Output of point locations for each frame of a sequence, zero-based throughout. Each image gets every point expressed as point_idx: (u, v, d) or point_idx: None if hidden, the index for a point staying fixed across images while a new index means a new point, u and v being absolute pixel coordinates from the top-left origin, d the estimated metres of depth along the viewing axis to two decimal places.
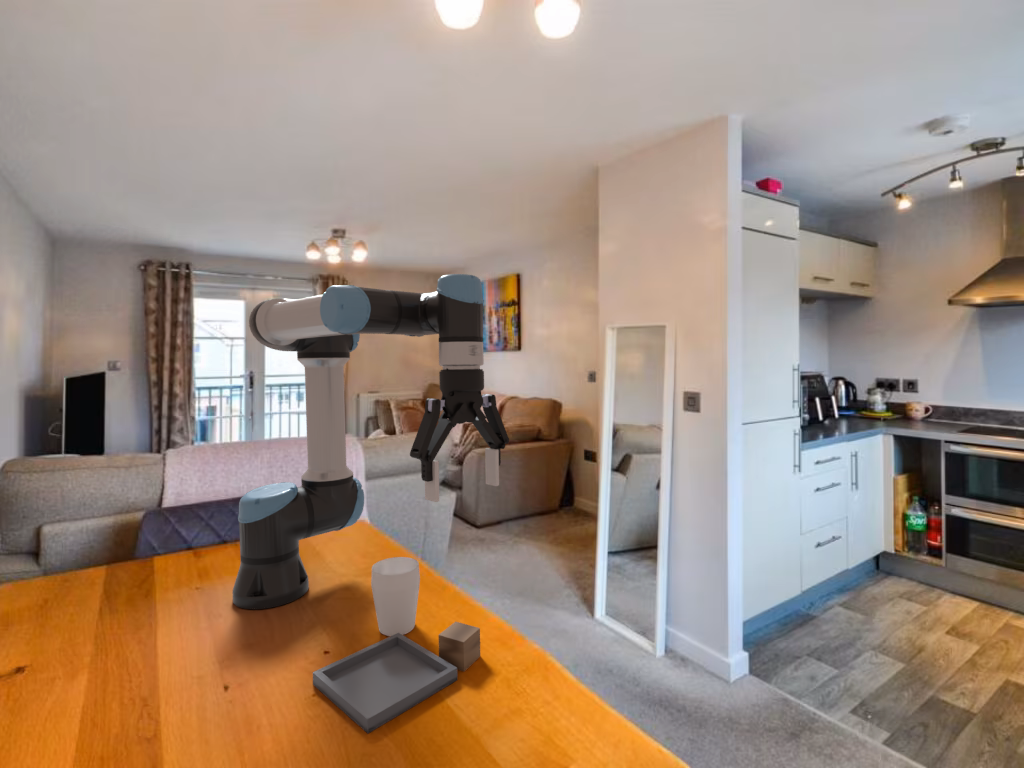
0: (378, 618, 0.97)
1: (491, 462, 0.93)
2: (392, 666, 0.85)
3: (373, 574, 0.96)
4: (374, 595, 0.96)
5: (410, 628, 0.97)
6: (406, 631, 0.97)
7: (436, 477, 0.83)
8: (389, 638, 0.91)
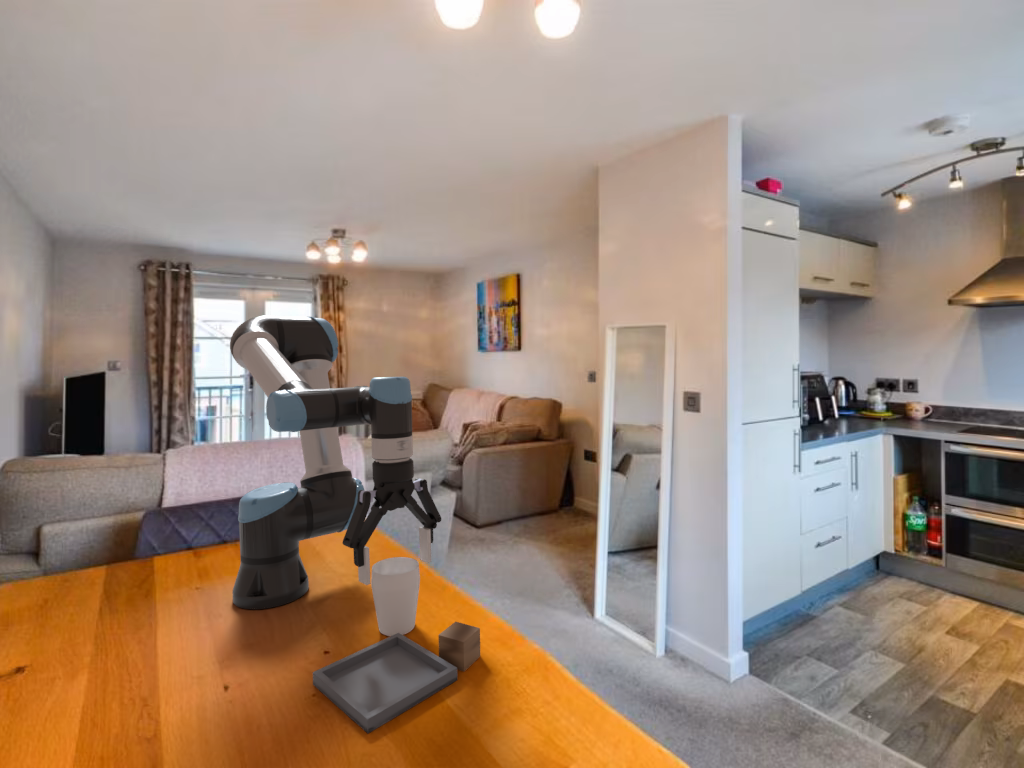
0: (378, 618, 0.97)
1: (424, 540, 1.03)
2: (392, 666, 0.85)
3: (373, 574, 0.96)
4: (374, 595, 0.96)
5: (410, 628, 0.97)
6: (406, 631, 0.97)
7: (367, 562, 0.92)
8: (389, 638, 0.91)
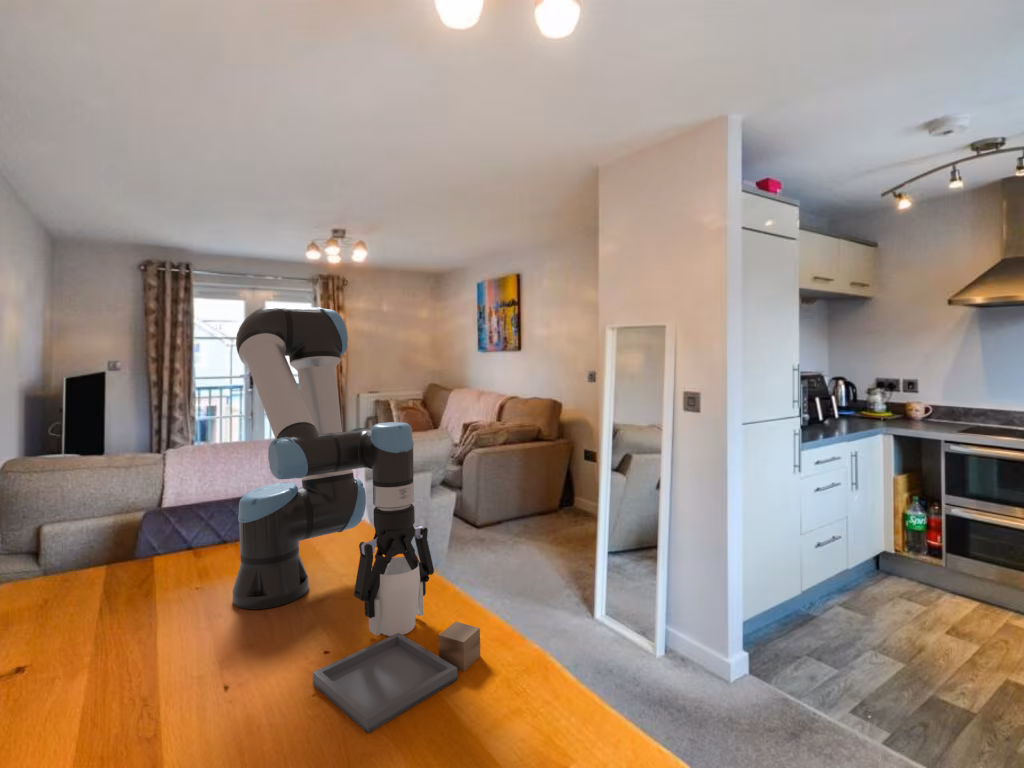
0: None
1: None
2: (392, 666, 0.85)
3: None
4: None
5: (410, 628, 0.97)
6: (406, 631, 0.97)
7: (377, 614, 0.94)
8: (389, 638, 0.91)
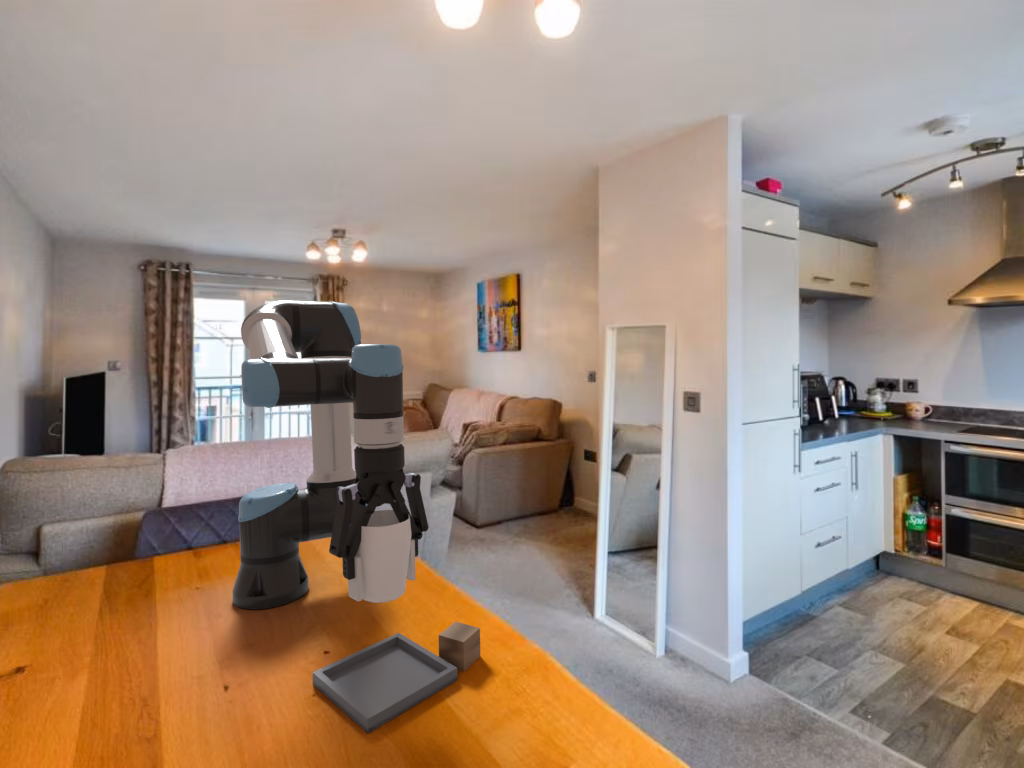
0: None
1: None
2: (392, 666, 0.85)
3: None
4: None
5: (399, 593, 0.80)
6: (394, 597, 0.79)
7: (358, 574, 0.77)
8: (389, 638, 0.91)
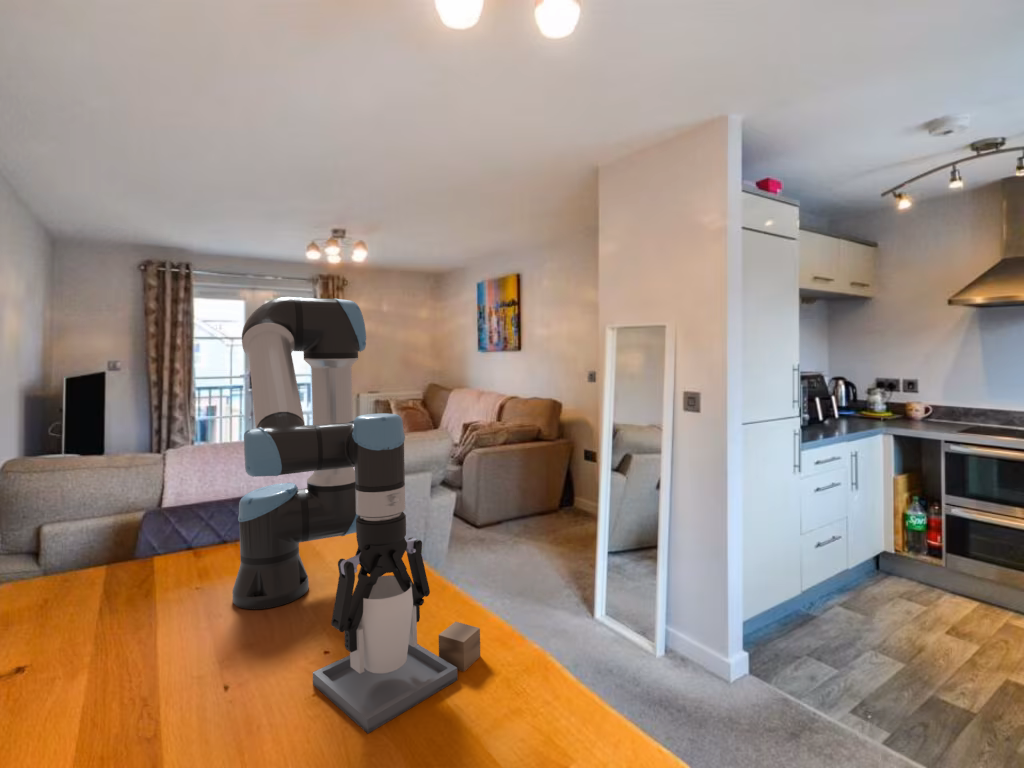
0: None
1: None
2: None
3: None
4: None
5: (401, 663, 0.80)
6: (396, 667, 0.79)
7: (360, 647, 0.77)
8: None
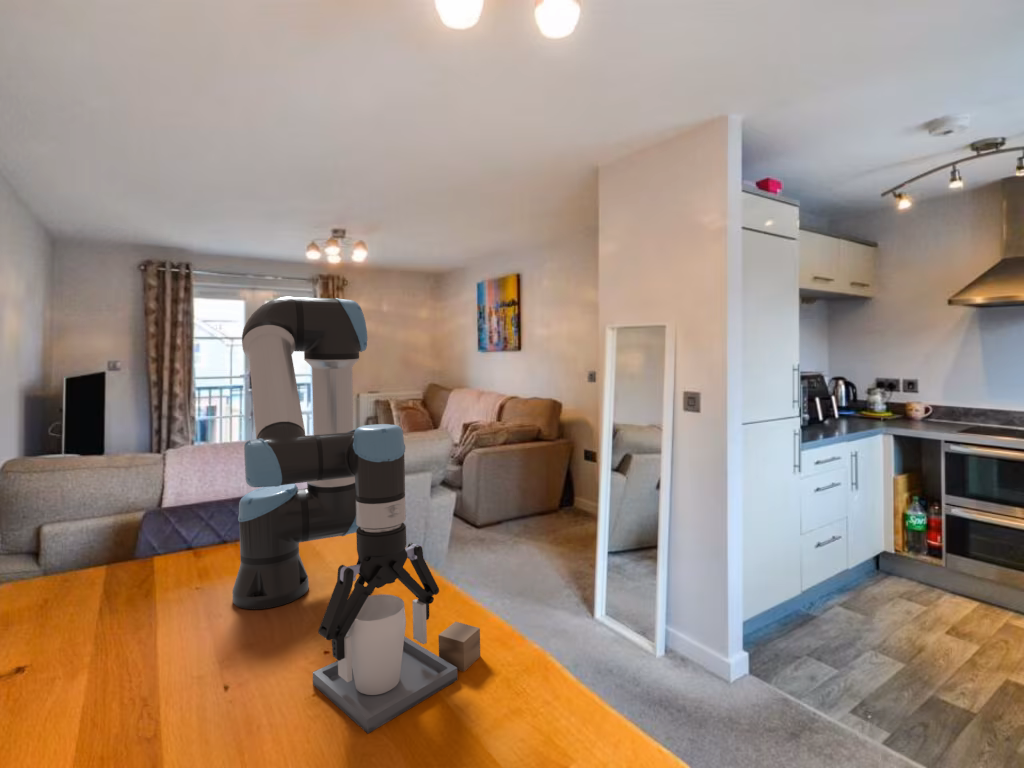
0: (354, 672, 0.79)
1: (418, 617, 0.86)
2: None
3: None
4: None
5: (393, 684, 0.79)
6: (388, 688, 0.79)
7: (348, 655, 0.76)
8: None
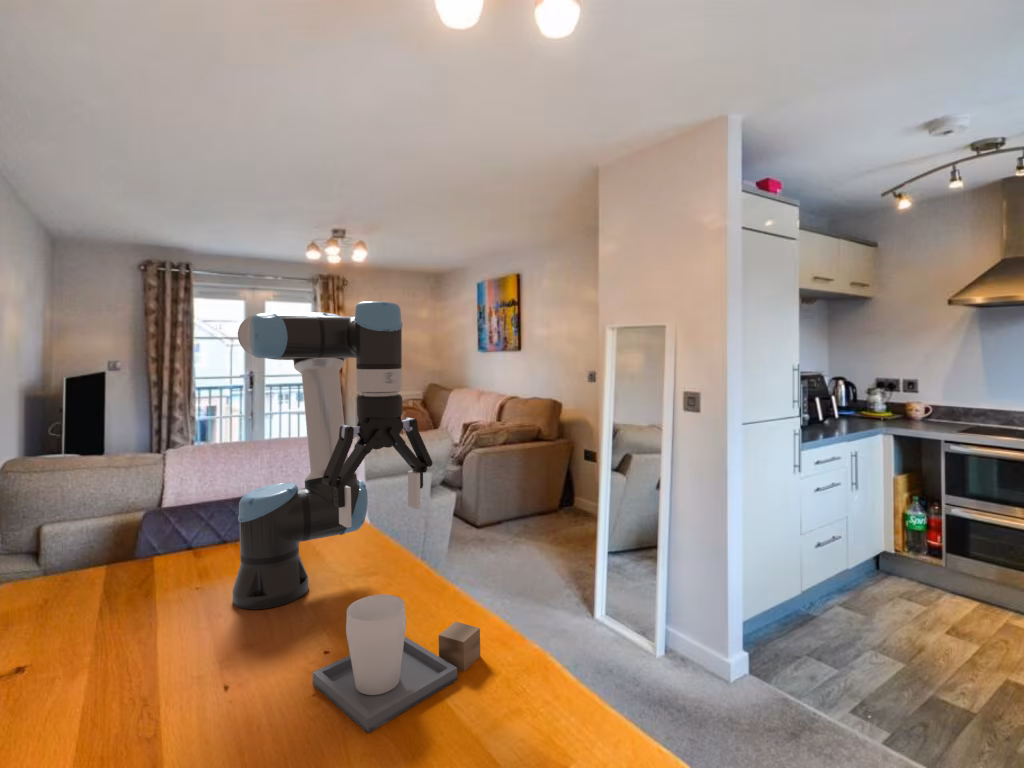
0: (354, 672, 0.79)
1: (413, 485, 0.94)
2: None
3: (348, 619, 0.78)
4: (349, 644, 0.78)
5: (393, 684, 0.79)
6: (388, 689, 0.79)
7: (348, 503, 0.84)
8: None
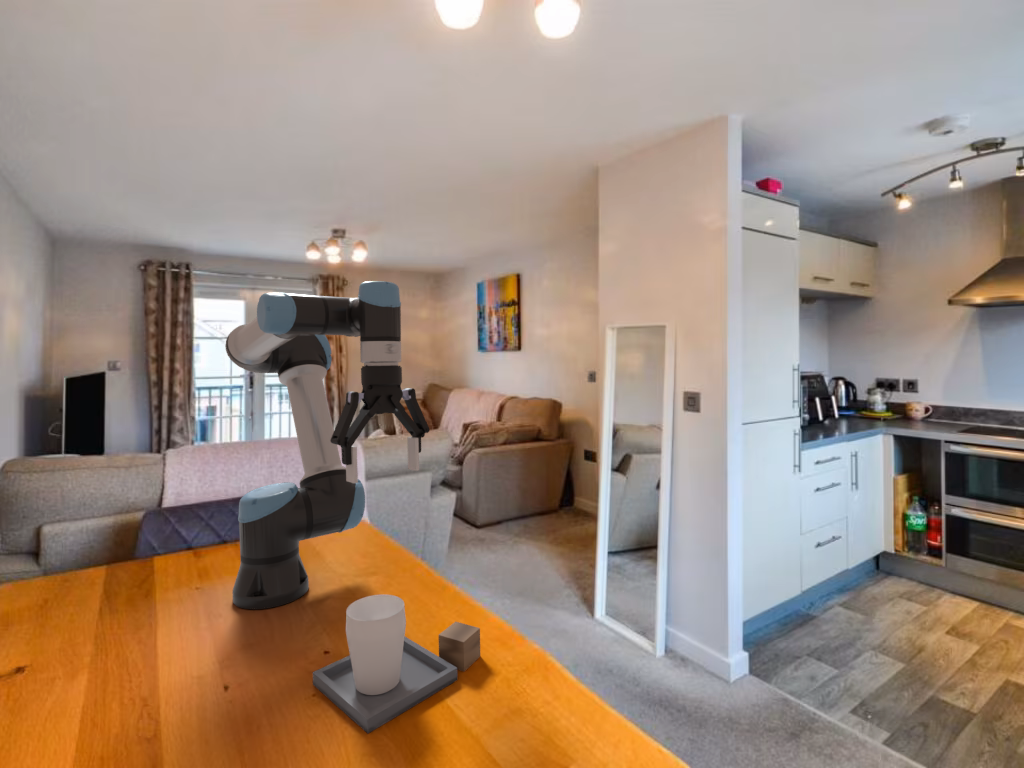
0: (354, 672, 0.79)
1: (412, 449, 1.04)
2: None
3: (348, 619, 0.78)
4: (349, 644, 0.78)
5: (393, 684, 0.79)
6: (388, 688, 0.79)
7: (354, 461, 0.94)
8: None
